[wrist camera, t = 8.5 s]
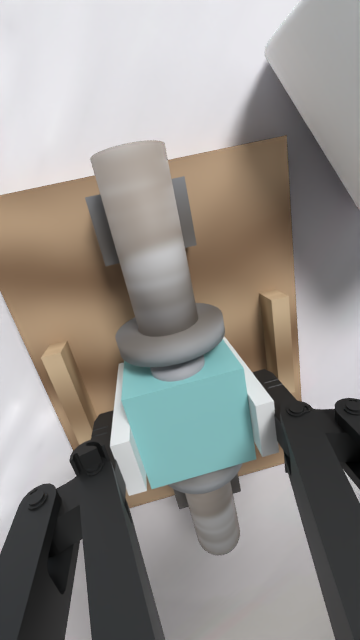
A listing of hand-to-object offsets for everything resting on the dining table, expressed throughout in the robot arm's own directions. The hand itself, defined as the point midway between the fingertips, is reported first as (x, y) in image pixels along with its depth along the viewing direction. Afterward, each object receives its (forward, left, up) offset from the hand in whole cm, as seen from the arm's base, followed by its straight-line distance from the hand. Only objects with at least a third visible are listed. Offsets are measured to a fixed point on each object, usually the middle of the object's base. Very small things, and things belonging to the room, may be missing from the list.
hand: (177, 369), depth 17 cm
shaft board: (0, 0, -2) cm, 2 cm away
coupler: (0, 0, 0) cm, 0 cm away
